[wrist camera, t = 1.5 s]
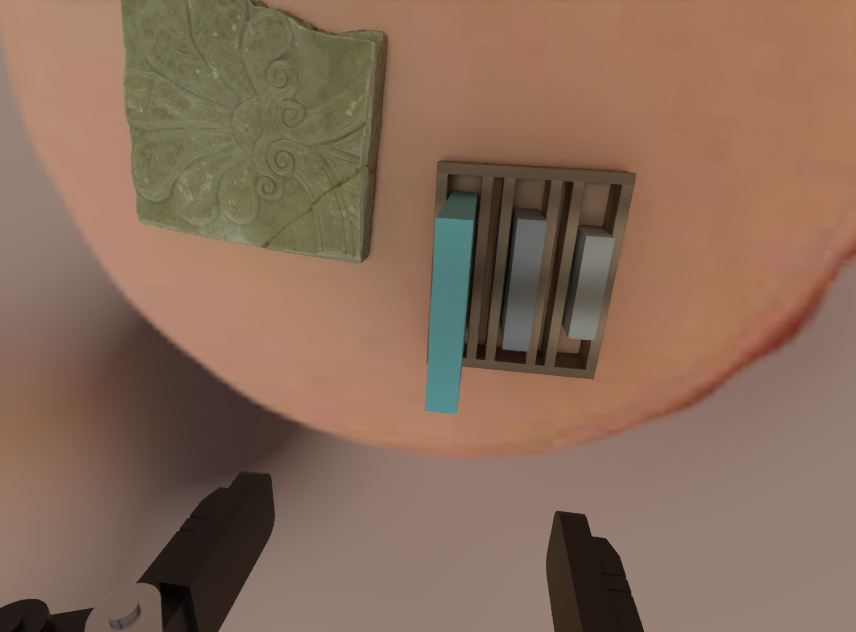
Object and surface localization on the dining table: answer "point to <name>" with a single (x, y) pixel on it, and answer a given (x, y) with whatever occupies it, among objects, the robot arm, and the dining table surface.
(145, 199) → the decorative tile
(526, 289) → the offcut tall
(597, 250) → the offcut short
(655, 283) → the dining table surface
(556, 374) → the rack
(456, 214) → the teal sheet
